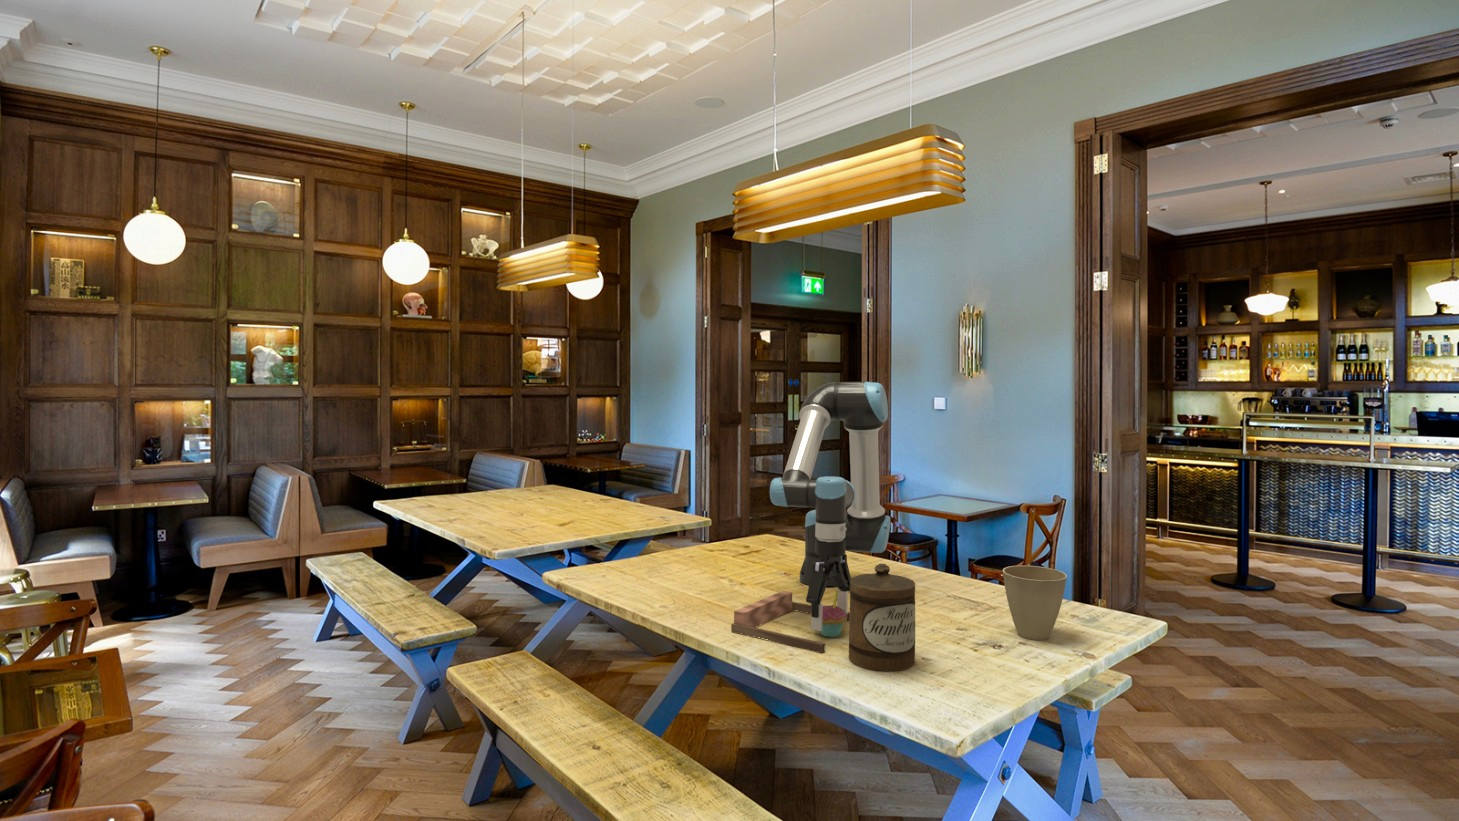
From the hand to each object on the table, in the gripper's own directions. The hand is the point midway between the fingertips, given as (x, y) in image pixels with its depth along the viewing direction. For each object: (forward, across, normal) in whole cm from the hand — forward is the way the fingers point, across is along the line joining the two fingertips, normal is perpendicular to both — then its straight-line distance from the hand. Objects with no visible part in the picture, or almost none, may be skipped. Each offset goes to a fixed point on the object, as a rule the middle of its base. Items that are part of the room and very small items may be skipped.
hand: (829, 623), depth 189 cm
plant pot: (+3, +29, -42) cm, 51 cm away
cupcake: (+3, 0, 0) cm, 3 cm away
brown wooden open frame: (+3, 0, +8) cm, 8 cm away
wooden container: (+3, -9, -18) cm, 20 cm away
